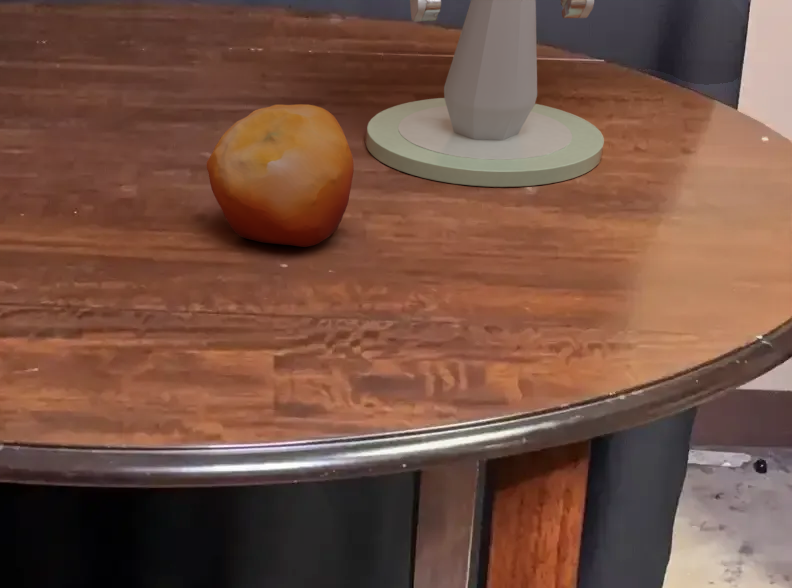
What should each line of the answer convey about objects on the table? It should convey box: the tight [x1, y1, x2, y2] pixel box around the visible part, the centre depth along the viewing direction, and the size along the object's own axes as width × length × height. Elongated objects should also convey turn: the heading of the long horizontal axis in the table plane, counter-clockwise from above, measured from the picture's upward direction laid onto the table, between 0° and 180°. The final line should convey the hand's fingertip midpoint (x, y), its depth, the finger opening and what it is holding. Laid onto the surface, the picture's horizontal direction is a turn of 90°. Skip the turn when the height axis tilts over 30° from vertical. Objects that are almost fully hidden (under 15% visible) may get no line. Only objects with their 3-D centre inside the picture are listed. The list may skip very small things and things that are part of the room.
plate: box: [365, 97, 605, 188], centre depth 98 cm, size 15×15×1 cm
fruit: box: [206, 103, 355, 248], centre depth 85 cm, size 8×8×8 cm
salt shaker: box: [443, 0, 538, 140], centre depth 94 cm, size 6×6×13 cm
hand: (502, 14), depth 93 cm, fingers open, 8 cm apart
